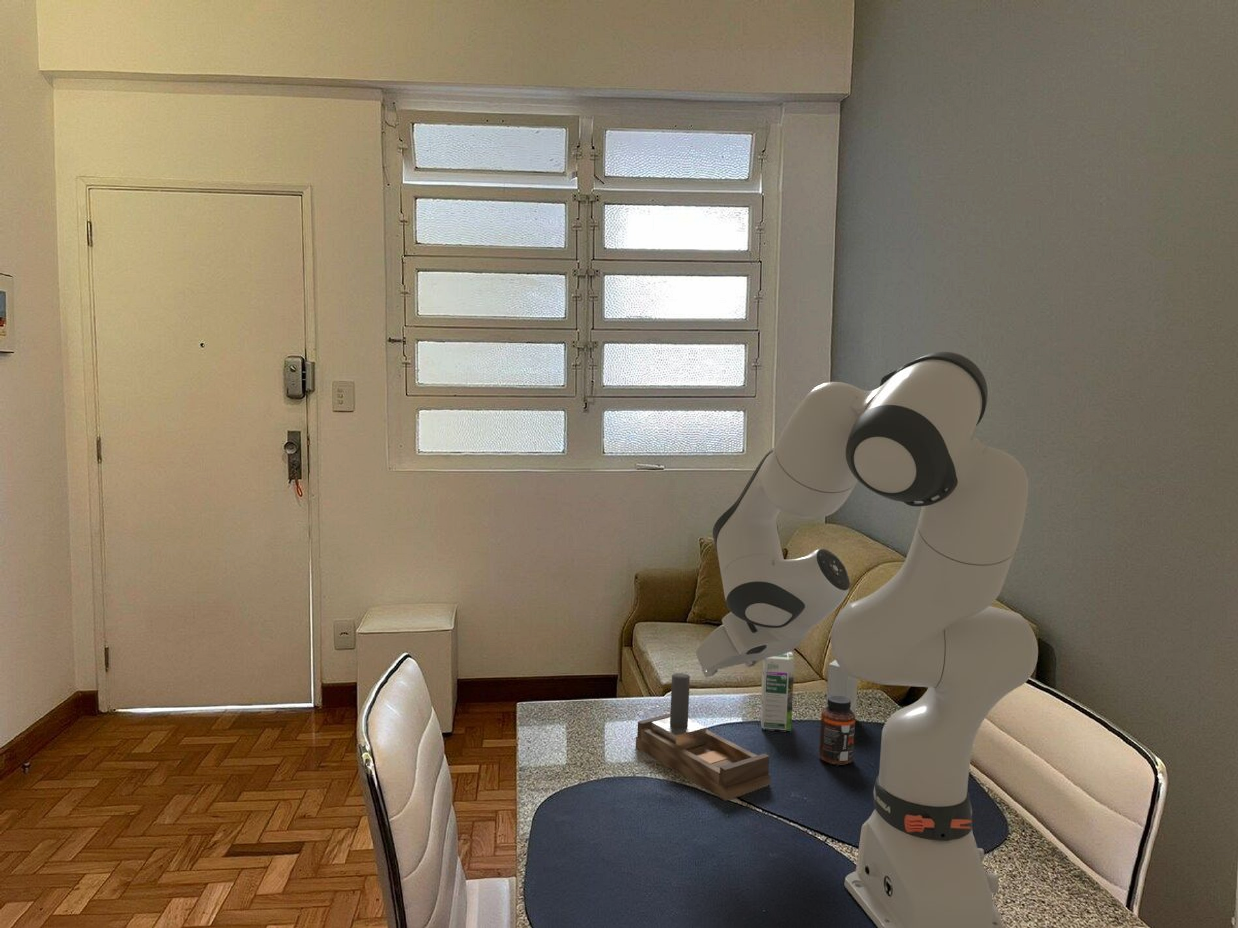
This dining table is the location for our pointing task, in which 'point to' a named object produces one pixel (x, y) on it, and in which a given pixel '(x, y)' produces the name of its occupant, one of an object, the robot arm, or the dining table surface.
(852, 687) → the skincare box
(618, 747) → the dining table surface
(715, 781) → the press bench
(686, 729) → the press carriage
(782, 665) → the syrup box
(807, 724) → the dining table surface
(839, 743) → the supplement bottle
